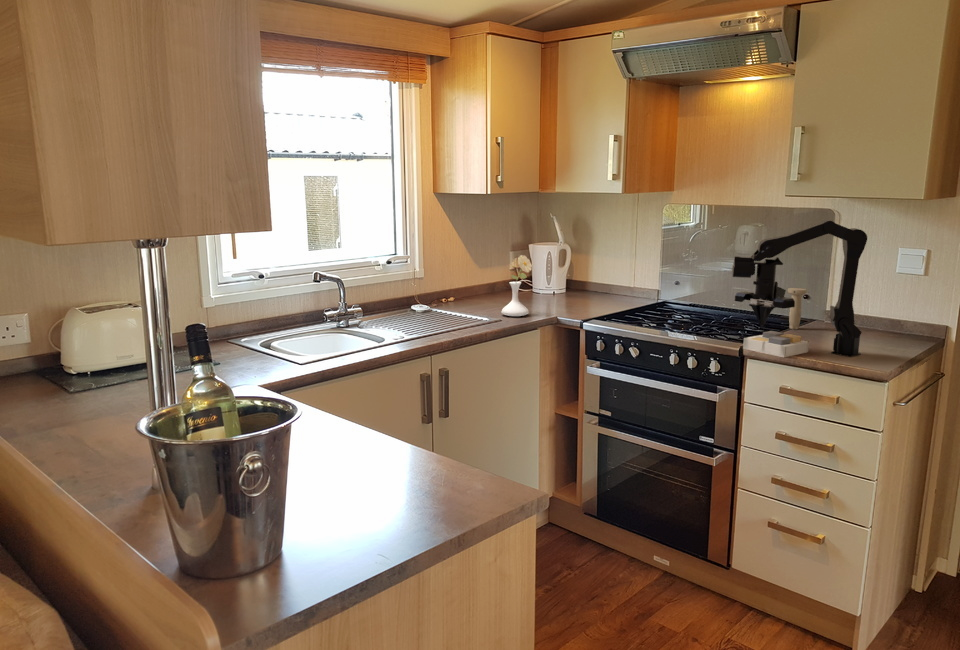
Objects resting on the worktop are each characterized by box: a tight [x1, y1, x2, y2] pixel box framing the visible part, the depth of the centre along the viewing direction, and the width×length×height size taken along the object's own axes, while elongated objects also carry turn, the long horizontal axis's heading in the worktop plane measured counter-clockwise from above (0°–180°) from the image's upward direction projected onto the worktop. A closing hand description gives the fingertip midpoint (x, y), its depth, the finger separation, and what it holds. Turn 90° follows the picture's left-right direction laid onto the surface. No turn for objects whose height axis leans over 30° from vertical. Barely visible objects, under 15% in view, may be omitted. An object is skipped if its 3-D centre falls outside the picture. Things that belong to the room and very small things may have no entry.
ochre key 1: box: [753, 337, 769, 342], centre depth 240 cm, size 5×5×3 cm
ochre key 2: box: [780, 333, 802, 343], centre depth 238 cm, size 5×5×3 cm
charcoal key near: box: [768, 336, 790, 345], centre depth 234 cm, size 5×5×3 cm
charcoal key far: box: [762, 330, 785, 338], centre depth 243 cm, size 5×5×3 cm
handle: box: [787, 287, 807, 330], centre depth 273 cm, size 5×6×15 cm
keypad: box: [742, 334, 810, 358], centre depth 239 cm, size 15×13×4 cm
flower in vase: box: [501, 254, 533, 317], centre depth 300 cm, size 13×11×25 cm
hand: (762, 325), depth 239 cm, fingers closed
